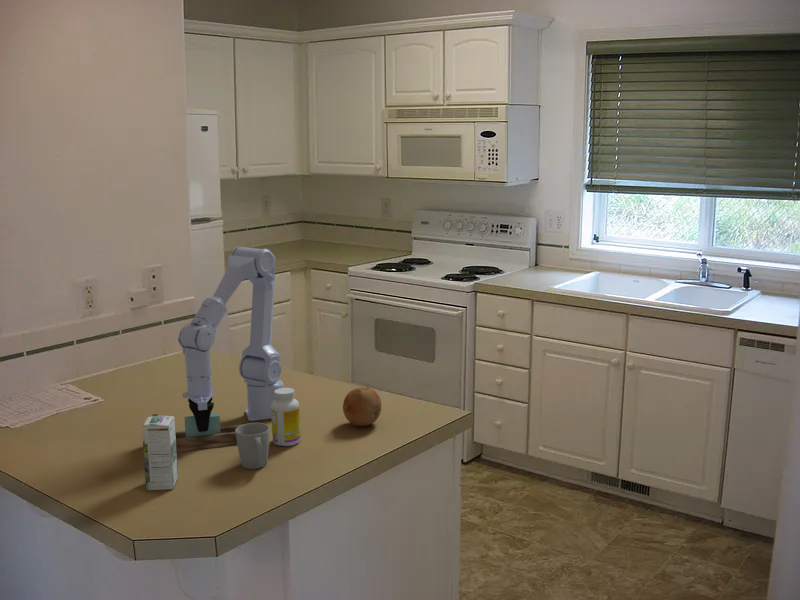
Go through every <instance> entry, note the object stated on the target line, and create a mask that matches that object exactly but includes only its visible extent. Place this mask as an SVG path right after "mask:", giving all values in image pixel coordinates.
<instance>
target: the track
mask: <svg viewBox="0 0 800 600" xmlns="http://www.w3.org/2000/svg"><path fill="white" fill-rule="evenodd" d="M152 416H159V415H158V413H155V414H152V415H151V417H152ZM241 425H244V424H243V423H242V424H235V425H227V426H220V431H221V433H220V434H211V435H203V436H194V437H186V431H183V430H182V431H175V435H176V452H177V453H182V452H188V451H189V452H190V451H195V450H196V451H197V450H206V448H207V449H212V448H213V447H215V448H221V447H220V446H223V447H229V445H231V446H238V445H237V439H236V433H235V430H236V428H237V427H239V426H241ZM213 449H214V448H213Z"/></svg>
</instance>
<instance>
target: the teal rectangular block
mask: <svg viewBox="0 0 800 600" xmlns="http://www.w3.org/2000/svg"><path fill="white" fill-rule="evenodd" d="M184 427H185V428H184V429H185V431H186V437H194V436H203V435H211V434H220V433H221V431H220V427H221V417H220V413H219V412H218V413H216V412H215V413H211V414H210V419H209V427H208V431H204V432H199V431H198V428H197V425H196V420H195V417H194V415H189V416H184Z"/></svg>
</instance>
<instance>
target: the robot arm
mask: <svg viewBox="0 0 800 600" xmlns="http://www.w3.org/2000/svg"><path fill="white" fill-rule="evenodd" d="M276 258H277V257H276V256H275V255H274V253H273V252H272V251H271V250H270V249H268V248H256V247H246V246H241V245H239V246H236V247H234V248H233V249H232V251H231V253H230V255H229V256H228V258H227V266H228V267H227V269H226V271H225V272H224V274H223V276H222V277H221V280H220V283H219V284H218V285H217V288H216V290H215V292H214V293H213V296H211V297H206V298H205V299H204V300H202V303H201V305H200V307H199V309H198V310H197V312H196V314H195V315H194V316H193V319H192V320H191V321H190V323H188V324H186V325H184V326H183V327H182V328H181V329H180V332H179V335H178V337H177V340H178V341H177V342H178V344H179V346H180V347H181V349H182V354H183V355H184V358H185V373H186V374H185V375H186V386H187V390H186V391H187V392H183V393H182V398H183V399H185V398H186V399H187V401H188V408H189V410H190V411H191V413H192V414H193V415H192V416H194V417H195V420H196V425H197V428H198V431H199V432H204V431H208V427H209V419H210V414H212V411H213V409H214V405H215V404H214V402H213V396H214V395H215V394H214V389H213V380H212V379H213V377H212V376H213V375H212V363H211V348H212V346H213V345H214V344H215V340H216V334H217V327H218V326H219V324H220V323H221V321H222V320H223V318H224V316H225V314H226V313H227V309H228V308H227V305H226V304H227V303H228V301H229V300H230V298H231V297H232V296H233V294H234V293H235V292H236V290H237V289H238V287H239V286H240V284H241V283H242V282H243V281H244V280H248V281H250V283H251V284H252V297H251V298H252V300H251V314H250V315H251V316H250V319H251V320H250V333H249V334H250V336H249V337H250V338H249V345H248V346H247V347H246V348H244V349H243V350H242V353H241V359H240V362H239V365H238V371H239V376H240V377H241V378H242V379H243V380H244V383H246V394H247V395H246V396H247V409H245V410H244V412H245V414H246V417H247V420H248V422H256V421H264V420H272V417H271V404H272V402H273V401H274V400H276V398H275V396H274V391H275V390H276V389H279V388H285V387H284V383H283V380H281V379H280V377H281V374H282V373H281V372H282V365H281V362H280V353H279V352H278V351H277V350H276V349H275V347H273V345H272V341H273V339H272V338H273V320H274V302H275V300H274V299H275V282H276Z"/></svg>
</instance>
